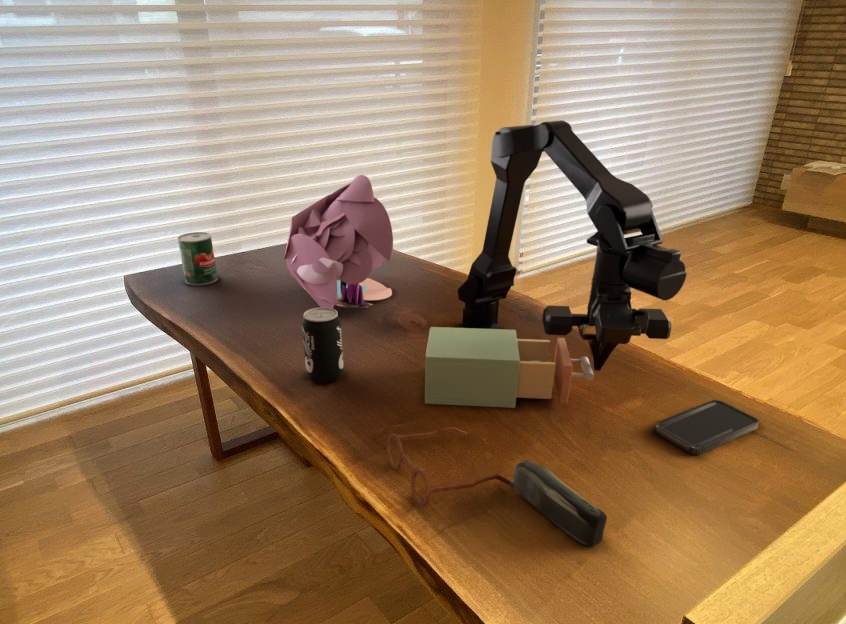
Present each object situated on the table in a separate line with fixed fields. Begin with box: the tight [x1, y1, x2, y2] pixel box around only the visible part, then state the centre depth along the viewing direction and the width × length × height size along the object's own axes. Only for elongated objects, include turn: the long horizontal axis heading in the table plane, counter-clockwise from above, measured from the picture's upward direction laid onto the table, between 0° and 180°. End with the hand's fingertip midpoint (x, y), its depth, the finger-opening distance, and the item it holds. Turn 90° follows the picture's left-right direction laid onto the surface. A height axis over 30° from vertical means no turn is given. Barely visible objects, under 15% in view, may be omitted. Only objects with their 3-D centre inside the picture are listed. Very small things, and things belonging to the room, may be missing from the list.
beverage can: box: [301, 306, 345, 385], centre depth 106 cm, size 7×7×12 cm
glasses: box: [386, 426, 512, 507], centre depth 83 cm, size 13×13×5 cm
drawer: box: [516, 337, 595, 404], centre depth 102 cm, size 18×10×7 cm, turn 84°
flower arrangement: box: [284, 174, 394, 309], centre depth 138 cm, size 35×24×28 cm
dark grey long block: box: [507, 459, 608, 547], centre depth 76 cm, size 5×3×15 cm
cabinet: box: [424, 326, 520, 409], centre depth 103 cm, size 15×12×9 cm
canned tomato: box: [176, 231, 219, 287], centre depth 151 cm, size 8×8×11 cm
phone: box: [653, 399, 760, 456], centre depth 93 cm, size 8×1×15 cm
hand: (596, 369), depth 101 cm, fingers closed
